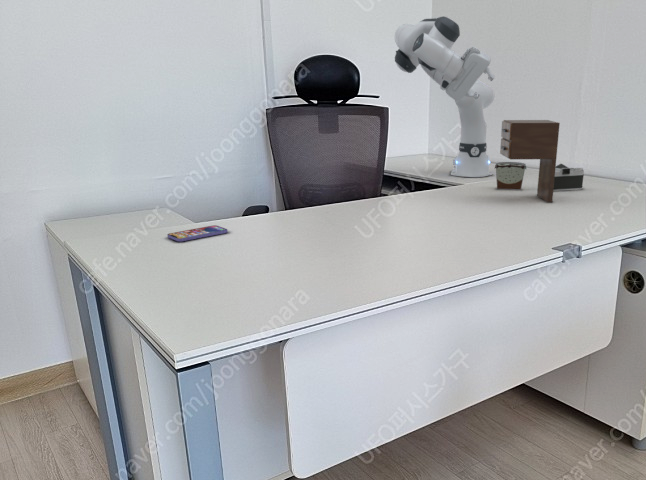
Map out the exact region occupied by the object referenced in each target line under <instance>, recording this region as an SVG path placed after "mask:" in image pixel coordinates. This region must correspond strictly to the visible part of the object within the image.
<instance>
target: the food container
mask: <svg viewBox="0 0 646 480" xmlns="http://www.w3.org/2000/svg"><path fill="white" fill-rule="evenodd" d="M494 170H495V177H496V190H498V191H502V190H505V191H511V190H512V191H522V187H523V182H524V177H525V170H527V165H526V163H524V162H520V161H500V162H498V161H497V162H496V163H495V165H494Z"/></svg>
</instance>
